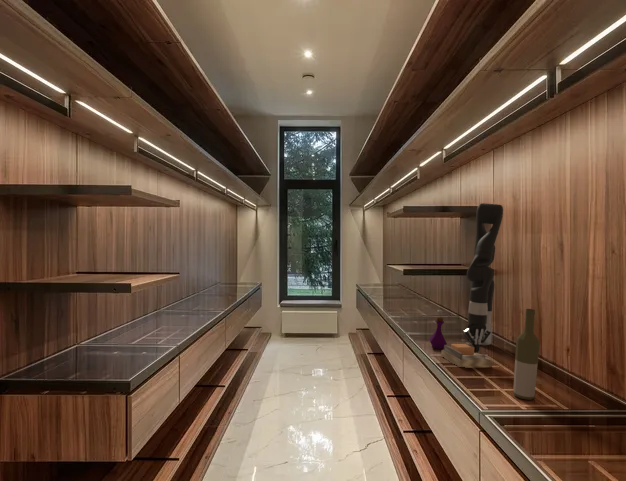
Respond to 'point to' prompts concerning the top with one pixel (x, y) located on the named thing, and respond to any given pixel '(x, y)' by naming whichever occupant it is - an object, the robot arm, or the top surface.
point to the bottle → (526, 360)
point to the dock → (465, 358)
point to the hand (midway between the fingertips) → (475, 352)
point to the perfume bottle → (438, 334)
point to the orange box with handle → (464, 348)
